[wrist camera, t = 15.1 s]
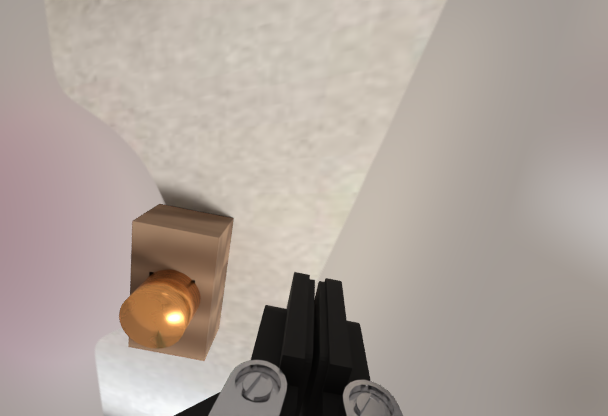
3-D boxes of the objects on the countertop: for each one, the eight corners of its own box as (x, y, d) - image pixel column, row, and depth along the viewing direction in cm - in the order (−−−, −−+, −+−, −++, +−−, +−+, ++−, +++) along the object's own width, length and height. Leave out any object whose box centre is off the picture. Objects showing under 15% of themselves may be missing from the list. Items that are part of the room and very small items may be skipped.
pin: (166, 243, 40) (119, 286, 31) (218, 253, 40) (187, 299, 31) (163, 288, 42) (118, 342, 33) (212, 297, 42) (182, 353, 33)
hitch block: (159, 203, 39) (132, 221, 34) (233, 218, 40) (219, 237, 34) (153, 315, 44) (128, 346, 39) (218, 327, 44) (204, 360, 39)
